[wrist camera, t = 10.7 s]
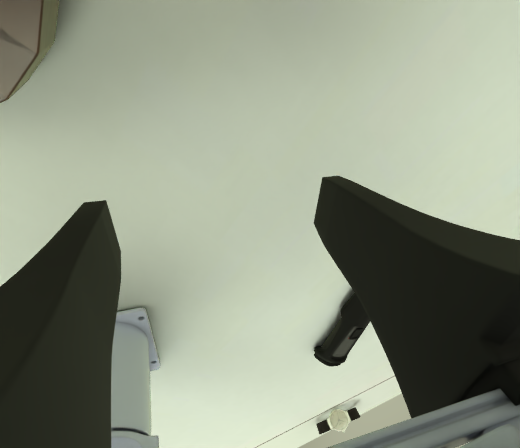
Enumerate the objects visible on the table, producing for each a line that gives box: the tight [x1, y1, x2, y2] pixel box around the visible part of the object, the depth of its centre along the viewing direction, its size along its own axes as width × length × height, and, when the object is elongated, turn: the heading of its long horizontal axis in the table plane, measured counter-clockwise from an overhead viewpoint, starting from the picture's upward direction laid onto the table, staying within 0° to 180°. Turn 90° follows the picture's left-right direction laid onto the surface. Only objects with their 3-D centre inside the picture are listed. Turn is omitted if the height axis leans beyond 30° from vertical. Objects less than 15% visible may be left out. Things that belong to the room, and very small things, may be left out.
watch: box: [316, 408, 360, 434], centre depth 55 cm, size 8×5×4 cm, turn 102°
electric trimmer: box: [314, 293, 370, 366], centre depth 36 cm, size 4×16×3 cm, turn 163°
